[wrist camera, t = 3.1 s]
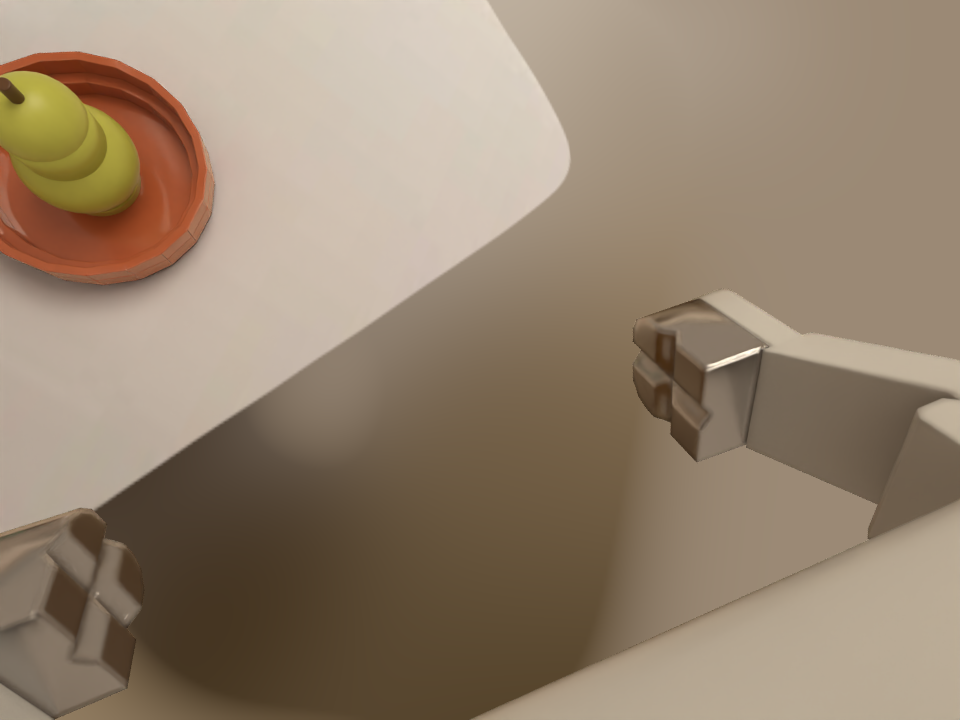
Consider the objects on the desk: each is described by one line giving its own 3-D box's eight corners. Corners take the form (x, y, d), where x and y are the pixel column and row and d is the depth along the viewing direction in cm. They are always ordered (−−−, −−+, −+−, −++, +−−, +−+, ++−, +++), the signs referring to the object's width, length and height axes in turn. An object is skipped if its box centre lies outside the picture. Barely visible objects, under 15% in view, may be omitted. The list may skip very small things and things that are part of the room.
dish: (-42, 268, 33) (-77, 256, 30) (-8, 57, 34) (-38, 25, 31) (201, 297, 36) (192, 289, 33) (225, 105, 37) (218, 82, 35)
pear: (35, 218, 34) (-97, 135, 23) (50, 123, 34) (-73, -2, 23) (147, 235, 35) (73, 164, 25) (159, 143, 36) (92, 35, 25)
